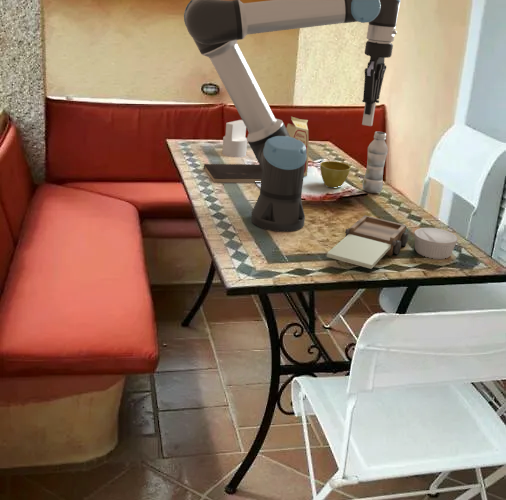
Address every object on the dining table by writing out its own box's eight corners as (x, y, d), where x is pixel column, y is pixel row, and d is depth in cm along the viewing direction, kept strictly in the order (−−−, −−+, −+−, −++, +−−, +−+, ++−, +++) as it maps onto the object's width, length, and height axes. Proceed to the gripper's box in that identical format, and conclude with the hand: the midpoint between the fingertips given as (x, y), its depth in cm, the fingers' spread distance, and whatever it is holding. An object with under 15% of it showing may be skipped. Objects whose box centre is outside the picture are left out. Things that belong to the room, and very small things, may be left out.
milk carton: (287, 177, 241) (293, 119, 233) (274, 169, 248) (279, 113, 240) (309, 176, 245) (316, 119, 237) (296, 168, 252) (302, 113, 245)
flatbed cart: (358, 230, 199) (360, 214, 197) (407, 243, 193) (410, 226, 192) (341, 245, 188) (344, 227, 186) (393, 258, 182) (397, 240, 180)
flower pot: (333, 192, 230) (336, 171, 227) (311, 183, 237) (314, 163, 234) (353, 188, 236) (356, 167, 233) (331, 179, 243) (334, 159, 240)
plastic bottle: (381, 196, 230) (391, 136, 223) (360, 193, 231) (369, 133, 224) (381, 190, 236) (391, 132, 228) (361, 187, 237) (370, 129, 230)
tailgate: (349, 233, 186) (327, 253, 173) (391, 244, 182) (372, 265, 168) (348, 238, 187) (326, 257, 173) (390, 249, 182) (371, 270, 169)
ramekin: (402, 250, 189) (406, 232, 186) (425, 241, 196) (429, 224, 194) (439, 265, 181) (442, 246, 179) (461, 255, 189) (465, 237, 187)
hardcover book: (280, 184, 235) (281, 177, 234) (213, 184, 228) (214, 177, 228) (267, 170, 249) (268, 164, 248) (203, 169, 243) (204, 163, 242)
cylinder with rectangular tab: (231, 149, 269) (234, 118, 264) (250, 154, 264) (253, 123, 259) (217, 153, 262) (219, 121, 257) (236, 158, 257) (239, 126, 252)
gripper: (385, 44, 189) (372, 131, 198) (399, 41, 200) (386, 123, 209) (359, 41, 192) (347, 126, 201) (374, 38, 203) (362, 119, 212)
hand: (367, 124), depth 205 cm, fingers closed
